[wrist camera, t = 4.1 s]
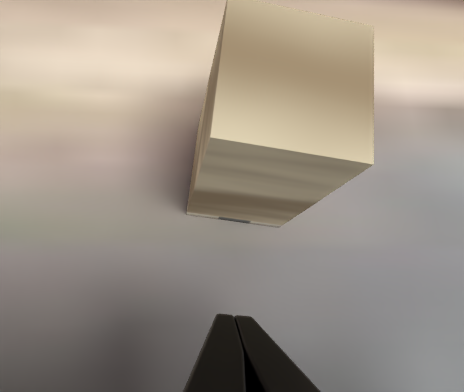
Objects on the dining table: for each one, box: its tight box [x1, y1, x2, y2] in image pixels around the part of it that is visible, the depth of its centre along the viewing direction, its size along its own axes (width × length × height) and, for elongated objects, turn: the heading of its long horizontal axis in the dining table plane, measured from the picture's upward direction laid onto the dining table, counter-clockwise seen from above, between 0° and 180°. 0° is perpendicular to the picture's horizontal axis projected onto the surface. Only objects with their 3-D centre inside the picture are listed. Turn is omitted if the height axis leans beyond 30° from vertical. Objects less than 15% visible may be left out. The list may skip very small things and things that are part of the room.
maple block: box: [186, 0, 374, 227], centre depth 16 cm, size 4×4×9 cm
